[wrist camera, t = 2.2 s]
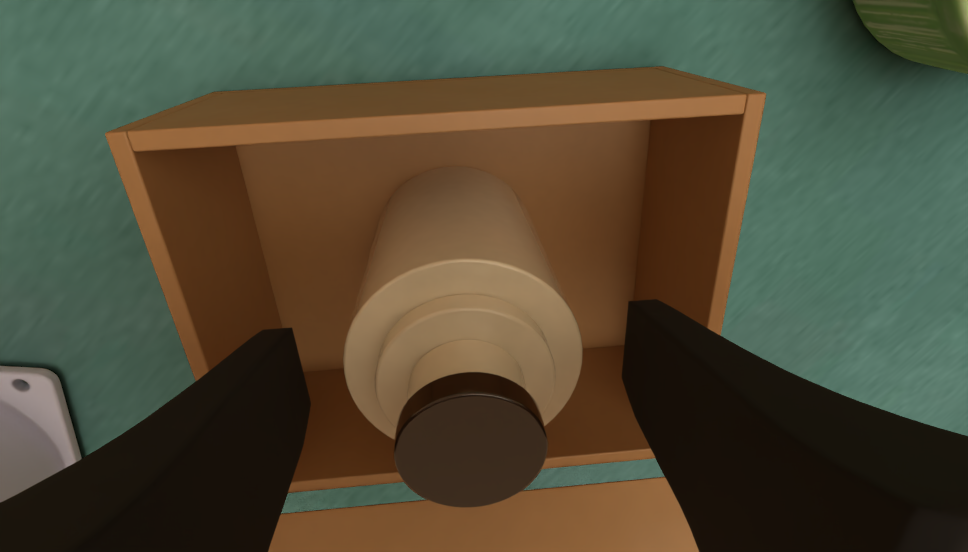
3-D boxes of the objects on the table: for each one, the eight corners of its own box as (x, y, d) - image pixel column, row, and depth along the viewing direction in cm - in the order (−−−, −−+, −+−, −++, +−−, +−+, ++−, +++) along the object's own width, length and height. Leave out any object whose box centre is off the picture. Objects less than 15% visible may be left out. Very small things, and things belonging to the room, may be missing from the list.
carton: (634, 346, 20) (698, 455, 15) (288, 375, 19) (238, 498, 14) (663, 66, 15) (767, 92, 10) (212, 91, 15) (103, 132, 10)
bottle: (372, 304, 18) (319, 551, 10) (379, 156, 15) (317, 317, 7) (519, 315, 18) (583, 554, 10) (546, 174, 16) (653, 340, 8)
